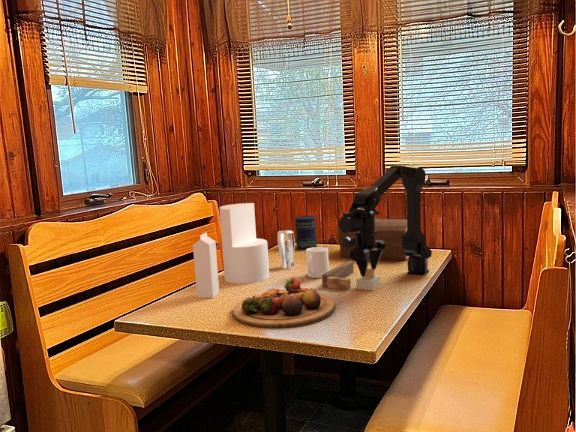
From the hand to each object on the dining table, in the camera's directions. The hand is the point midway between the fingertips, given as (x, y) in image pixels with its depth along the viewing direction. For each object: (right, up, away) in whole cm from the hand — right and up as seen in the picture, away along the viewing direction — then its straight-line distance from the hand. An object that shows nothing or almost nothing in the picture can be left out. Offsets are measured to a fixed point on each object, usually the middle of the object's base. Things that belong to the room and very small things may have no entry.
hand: (368, 273), depth 196 cm
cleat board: (-6, -4, +10) cm, 12 cm away
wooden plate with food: (-29, -10, -20) cm, 37 cm away
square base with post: (0, -5, +1) cm, 5 cm away
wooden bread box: (+11, +3, +49) cm, 50 cm away
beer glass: (-28, -2, +35) cm, 45 cm away
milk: (-56, -8, +1) cm, 56 cm away
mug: (-17, -3, +18) cm, 25 cm away
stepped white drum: (-44, -4, +23) cm, 49 cm away
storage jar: (-19, +4, +71) cm, 74 cm away
